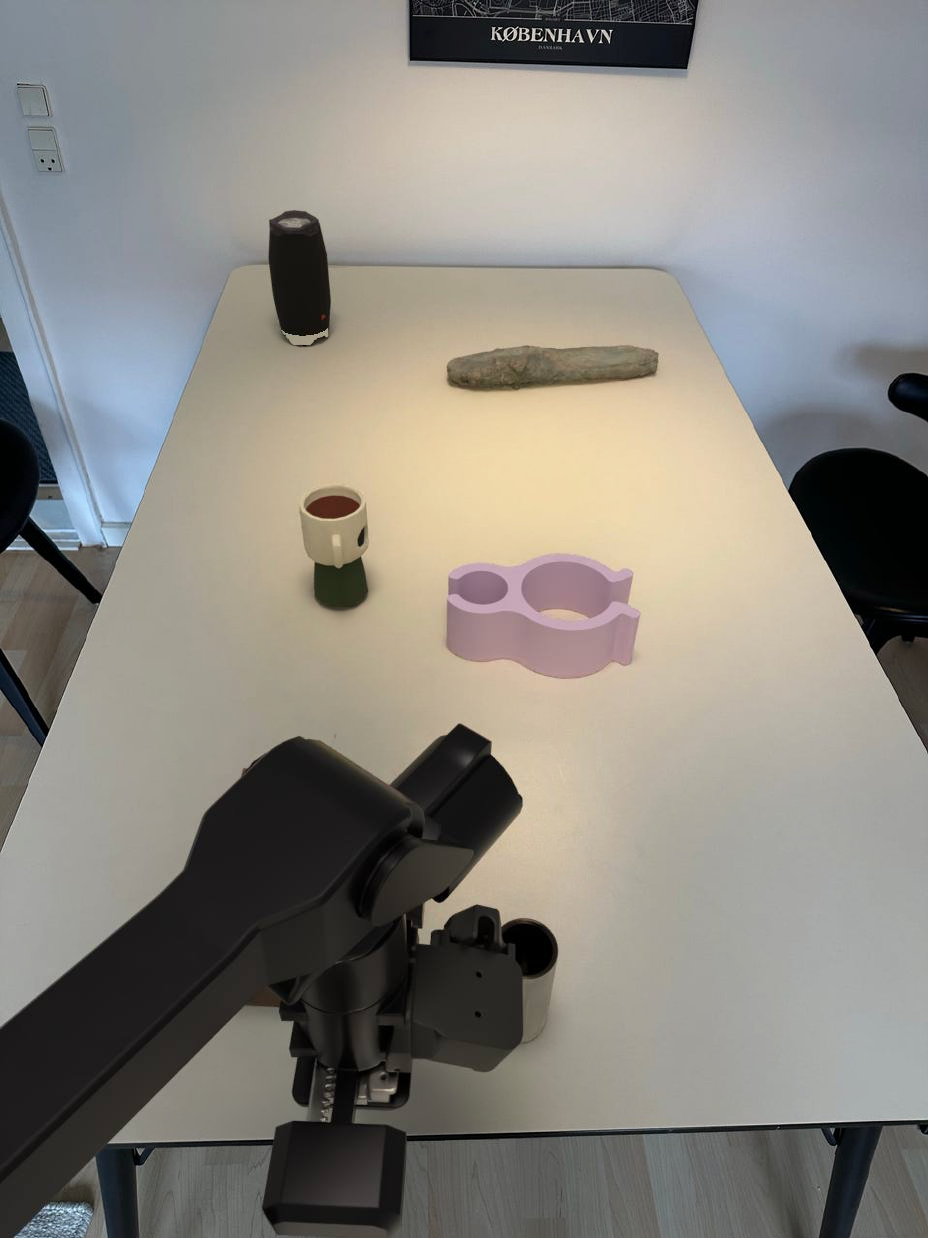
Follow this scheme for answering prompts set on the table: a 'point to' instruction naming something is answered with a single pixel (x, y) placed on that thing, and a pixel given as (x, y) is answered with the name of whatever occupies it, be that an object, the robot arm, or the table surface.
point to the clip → (514, 629)
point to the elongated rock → (550, 365)
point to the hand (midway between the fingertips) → (365, 1083)
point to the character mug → (336, 542)
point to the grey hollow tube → (533, 969)
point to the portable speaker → (299, 273)
